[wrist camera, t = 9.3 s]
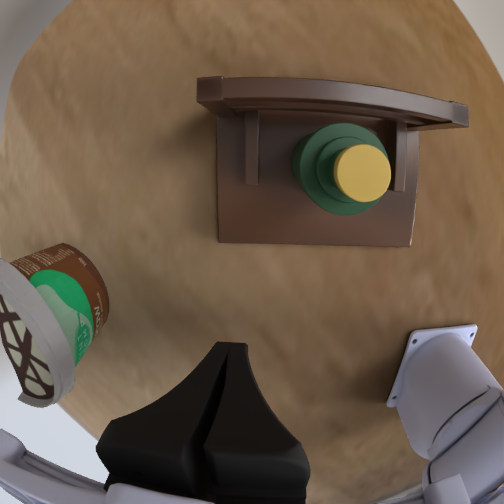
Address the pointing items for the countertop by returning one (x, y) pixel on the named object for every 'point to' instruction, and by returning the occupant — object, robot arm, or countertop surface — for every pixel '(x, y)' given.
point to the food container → (50, 318)
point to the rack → (284, 142)
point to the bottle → (342, 168)
